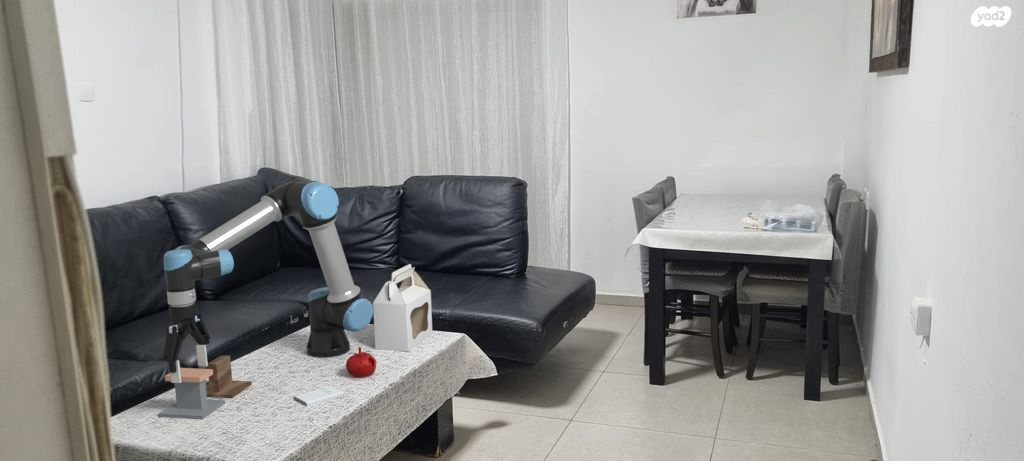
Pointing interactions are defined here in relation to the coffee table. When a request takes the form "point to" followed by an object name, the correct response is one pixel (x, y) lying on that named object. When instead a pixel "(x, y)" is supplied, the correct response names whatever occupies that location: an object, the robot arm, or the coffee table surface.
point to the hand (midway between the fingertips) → (190, 374)
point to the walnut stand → (223, 380)
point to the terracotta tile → (192, 375)
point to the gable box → (402, 312)
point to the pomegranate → (361, 364)
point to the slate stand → (191, 402)
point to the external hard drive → (318, 395)
